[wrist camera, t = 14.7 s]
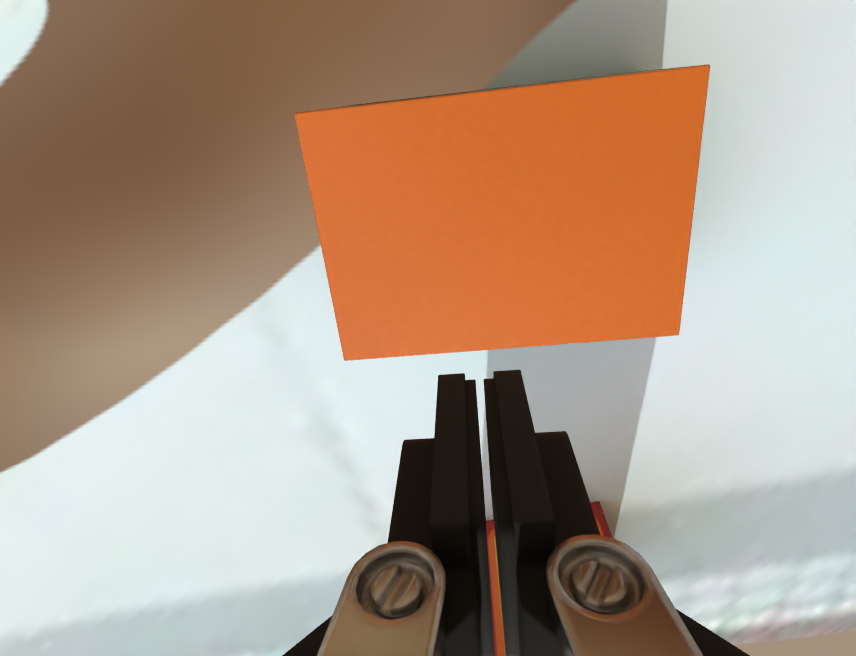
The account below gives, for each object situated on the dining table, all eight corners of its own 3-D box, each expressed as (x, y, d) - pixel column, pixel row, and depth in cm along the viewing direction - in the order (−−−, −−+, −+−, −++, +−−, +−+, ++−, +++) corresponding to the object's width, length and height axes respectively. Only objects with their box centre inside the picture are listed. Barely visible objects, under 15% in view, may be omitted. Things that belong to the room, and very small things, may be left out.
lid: (346, 353, 26) (344, 361, 25) (299, 112, 21) (294, 112, 21) (672, 328, 25) (679, 335, 24) (701, 65, 20) (711, 64, 19)
